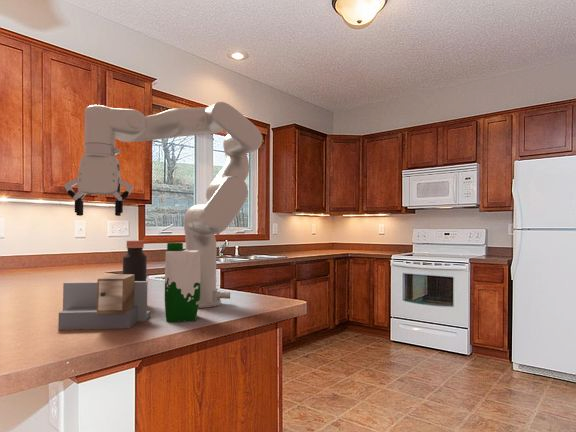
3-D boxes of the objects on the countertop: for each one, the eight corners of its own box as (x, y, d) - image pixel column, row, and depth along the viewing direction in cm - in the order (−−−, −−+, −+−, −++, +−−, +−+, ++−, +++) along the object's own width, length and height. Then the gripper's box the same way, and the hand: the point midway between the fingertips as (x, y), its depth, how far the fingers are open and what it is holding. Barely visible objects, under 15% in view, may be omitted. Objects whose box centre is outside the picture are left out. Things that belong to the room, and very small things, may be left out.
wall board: (150, 316, 106) (150, 279, 106) (138, 328, 93) (139, 285, 93) (71, 318, 103) (72, 280, 103) (49, 330, 91) (50, 287, 91)
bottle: (146, 307, 118) (147, 241, 118) (121, 308, 115) (123, 241, 116) (145, 303, 124) (146, 240, 125) (122, 304, 121) (123, 240, 122)
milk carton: (167, 315, 107) (168, 242, 107) (200, 314, 108) (201, 242, 109) (162, 323, 98) (163, 243, 99) (198, 322, 99) (199, 243, 100)
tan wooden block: (133, 305, 100) (134, 274, 100) (123, 313, 90) (123, 279, 90) (109, 306, 99) (109, 274, 99) (95, 314, 89) (96, 279, 90)
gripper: (136, 156, 111) (135, 216, 110) (70, 154, 108) (69, 215, 107) (130, 151, 104) (129, 215, 103) (59, 148, 101) (58, 215, 100)
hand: (99, 215), depth 105 cm, fingers open, 9 cm apart
